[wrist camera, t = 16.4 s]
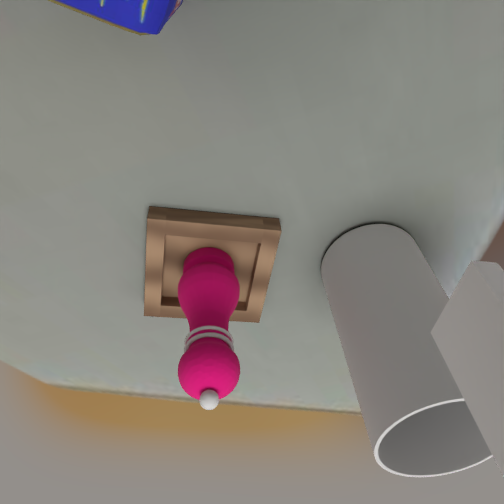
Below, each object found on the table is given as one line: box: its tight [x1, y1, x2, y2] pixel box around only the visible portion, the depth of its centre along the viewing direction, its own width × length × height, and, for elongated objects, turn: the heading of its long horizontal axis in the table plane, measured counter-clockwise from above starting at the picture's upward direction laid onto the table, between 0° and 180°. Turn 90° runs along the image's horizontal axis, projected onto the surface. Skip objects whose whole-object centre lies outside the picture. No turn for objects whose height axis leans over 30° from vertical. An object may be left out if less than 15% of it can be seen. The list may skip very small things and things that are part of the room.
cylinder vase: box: [321, 224, 493, 477], centre depth 51 cm, size 12×12×25 cm
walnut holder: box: [144, 206, 281, 323], centre depth 58 cm, size 15×15×2 cm
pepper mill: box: [178, 247, 240, 410], centre depth 50 cm, size 7×7×20 cm
